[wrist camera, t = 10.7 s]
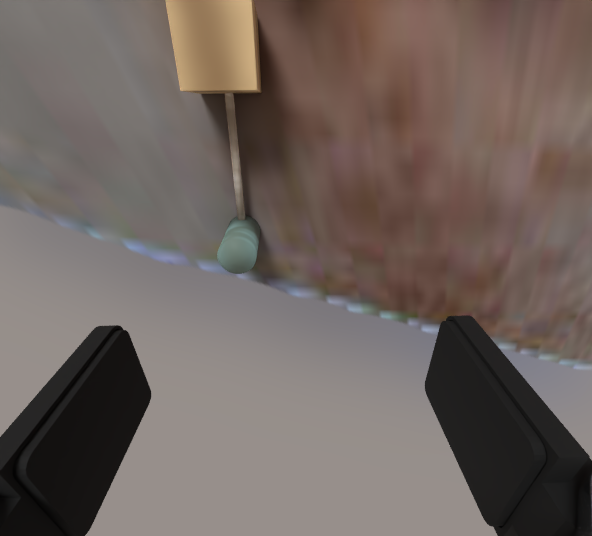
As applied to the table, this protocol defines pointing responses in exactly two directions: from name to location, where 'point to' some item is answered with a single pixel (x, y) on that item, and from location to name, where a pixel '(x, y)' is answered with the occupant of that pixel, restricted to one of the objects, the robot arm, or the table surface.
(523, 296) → the table surface
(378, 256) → the table surface
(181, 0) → the tethered block
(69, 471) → the robot arm
